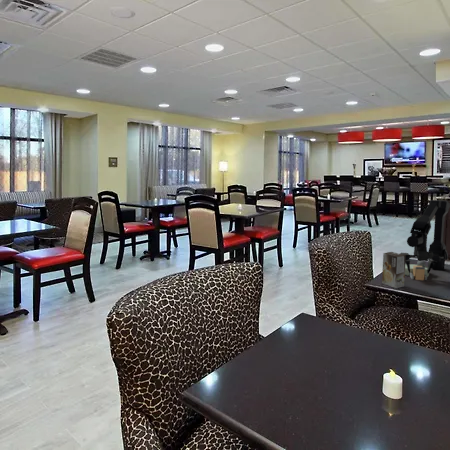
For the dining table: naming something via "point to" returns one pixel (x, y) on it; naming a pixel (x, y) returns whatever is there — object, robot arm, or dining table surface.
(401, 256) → the coffee box
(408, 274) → the mower deck
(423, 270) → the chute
